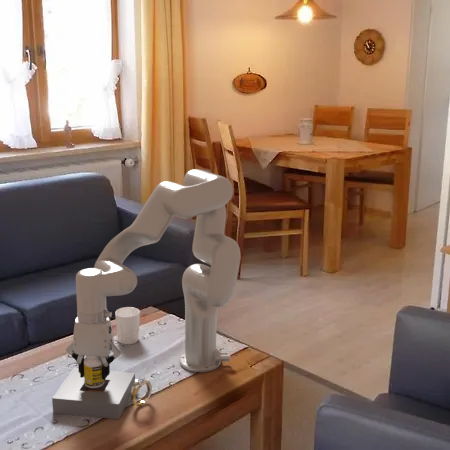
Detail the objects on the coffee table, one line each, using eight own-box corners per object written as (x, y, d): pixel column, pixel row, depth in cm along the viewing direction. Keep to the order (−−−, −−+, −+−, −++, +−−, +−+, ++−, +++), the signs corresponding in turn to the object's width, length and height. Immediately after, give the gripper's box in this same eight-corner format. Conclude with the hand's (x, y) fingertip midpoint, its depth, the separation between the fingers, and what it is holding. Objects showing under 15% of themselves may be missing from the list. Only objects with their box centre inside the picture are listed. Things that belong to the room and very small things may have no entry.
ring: (135, 412, 168) (134, 386, 166) (127, 407, 170) (126, 381, 168) (155, 402, 173) (154, 376, 171) (147, 397, 175) (146, 372, 173)
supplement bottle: (93, 391, 169) (91, 358, 166) (80, 383, 172) (78, 351, 169) (108, 383, 173) (107, 350, 170) (96, 376, 176) (94, 344, 173)
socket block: (135, 387, 180) (134, 373, 179) (119, 419, 165) (118, 404, 164) (74, 381, 182) (73, 367, 181) (53, 413, 167) (52, 398, 166)
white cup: (127, 332, 213) (127, 304, 211) (145, 338, 209) (144, 311, 206) (111, 340, 207) (110, 312, 204) (128, 347, 203) (127, 319, 200)
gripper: (127, 311, 169) (128, 372, 174) (66, 306, 171) (69, 366, 176) (119, 323, 162) (121, 386, 167) (55, 318, 164) (58, 380, 169)
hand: (94, 375), depth 172 cm, fingers closed on supplement bottle, 5 cm apart
